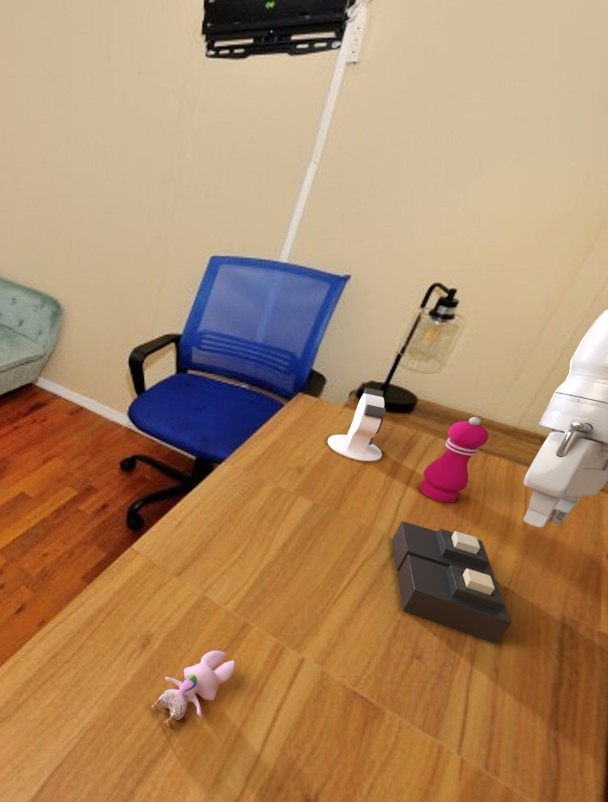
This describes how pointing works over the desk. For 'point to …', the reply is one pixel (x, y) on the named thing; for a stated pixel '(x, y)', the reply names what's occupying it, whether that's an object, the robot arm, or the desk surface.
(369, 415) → the white curved stand
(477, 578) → the high key
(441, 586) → the high key box
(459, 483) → the pepper mill
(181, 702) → the rabbit figure
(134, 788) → the desk surface
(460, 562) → the low key box
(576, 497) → the robot arm
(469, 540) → the low key
